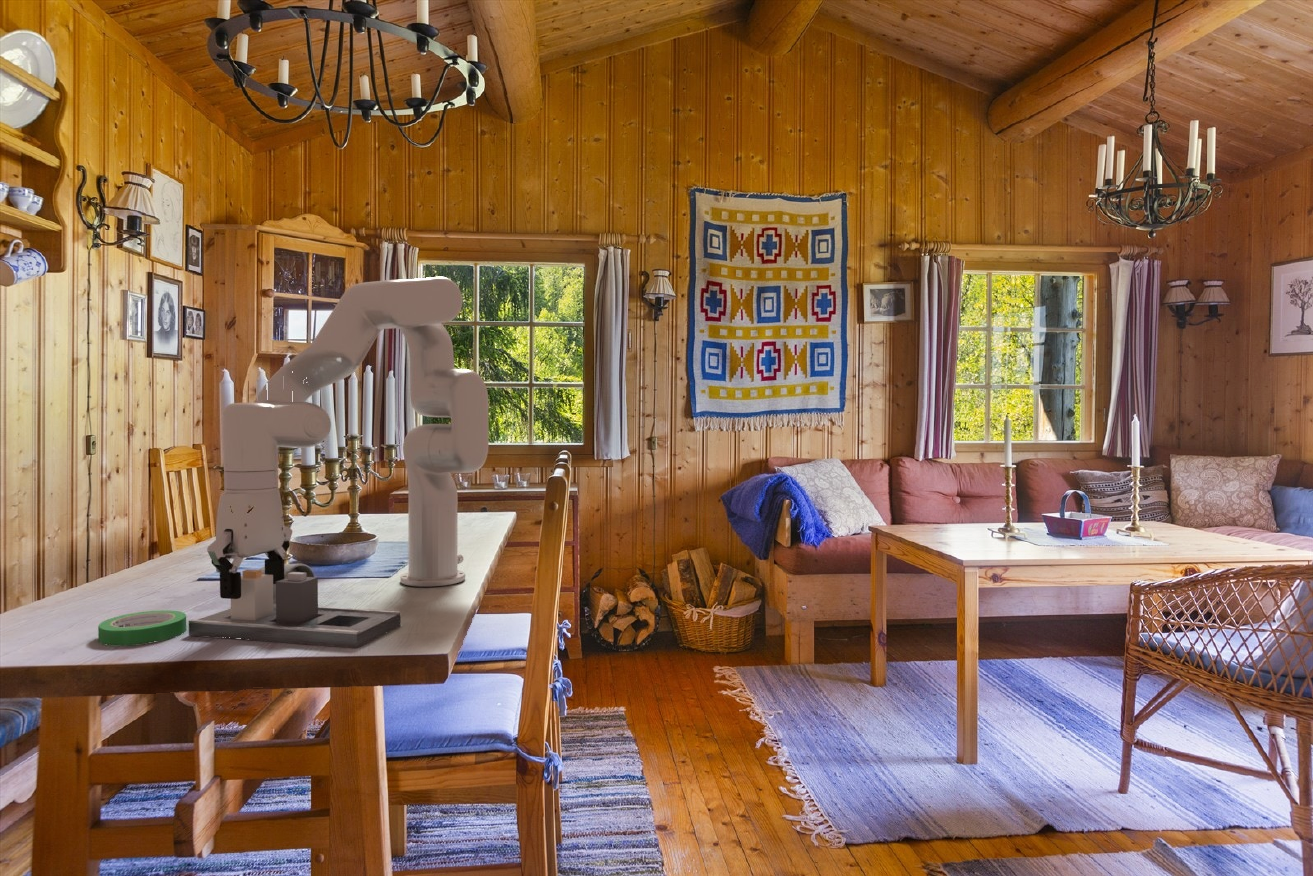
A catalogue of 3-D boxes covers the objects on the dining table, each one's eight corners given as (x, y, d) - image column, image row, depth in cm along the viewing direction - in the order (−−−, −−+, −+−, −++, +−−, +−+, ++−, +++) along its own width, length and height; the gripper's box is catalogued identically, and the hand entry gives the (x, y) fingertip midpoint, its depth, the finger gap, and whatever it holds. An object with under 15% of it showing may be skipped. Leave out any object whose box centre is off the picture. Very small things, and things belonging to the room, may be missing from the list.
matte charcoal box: (294, 626, 122) (293, 569, 122) (318, 628, 121) (317, 571, 121) (276, 633, 118) (275, 575, 118) (300, 635, 117) (300, 576, 117)
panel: (245, 615, 128) (245, 602, 128) (400, 626, 123) (400, 611, 123) (188, 635, 117) (188, 620, 117) (356, 648, 111) (356, 632, 111)
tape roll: (126, 652, 110) (125, 633, 109) (82, 641, 115) (82, 623, 114) (202, 632, 119) (202, 615, 119) (159, 623, 124) (158, 607, 124)
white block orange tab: (249, 623, 124) (249, 567, 124) (273, 625, 123) (273, 568, 123) (230, 630, 120) (230, 572, 119) (255, 632, 119) (254, 573, 119)
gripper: (268, 476, 130) (270, 577, 131) (187, 487, 113) (189, 603, 114) (308, 477, 128) (310, 580, 129) (231, 488, 112) (234, 605, 112)
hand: (253, 590), depth 121 cm, fingers open, 9 cm apart
